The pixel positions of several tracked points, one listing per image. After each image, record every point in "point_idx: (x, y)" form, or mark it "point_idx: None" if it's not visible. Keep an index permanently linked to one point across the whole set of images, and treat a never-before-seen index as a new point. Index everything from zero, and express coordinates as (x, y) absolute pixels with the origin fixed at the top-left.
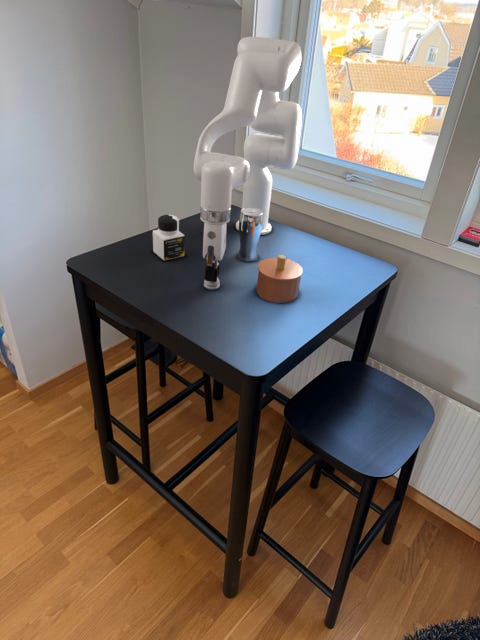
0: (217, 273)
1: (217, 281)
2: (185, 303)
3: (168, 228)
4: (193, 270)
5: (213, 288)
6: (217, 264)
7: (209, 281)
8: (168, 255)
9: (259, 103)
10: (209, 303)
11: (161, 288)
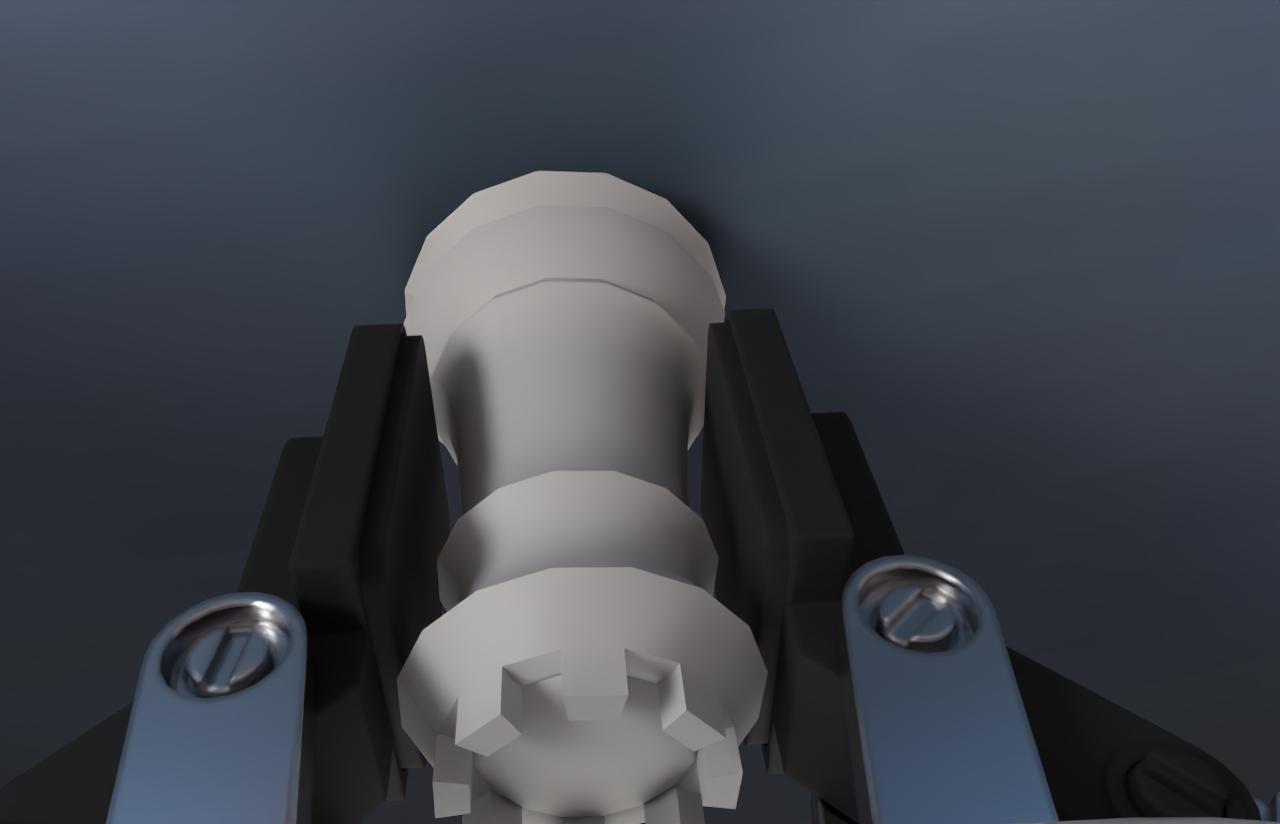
0: (420, 365)
1: (619, 271)
2: (1151, 532)
3: None
4: (139, 648)
5: (712, 266)
6: (648, 607)
7: (702, 421)
8: None
9: None
10: (1175, 224)
11: (789, 813)
